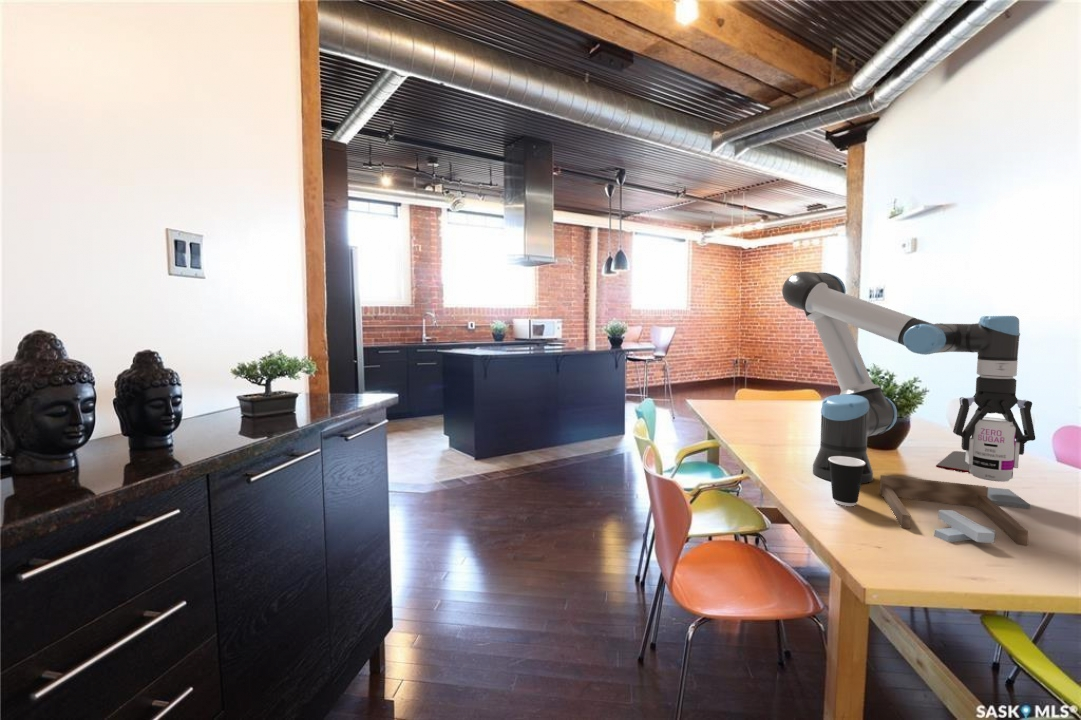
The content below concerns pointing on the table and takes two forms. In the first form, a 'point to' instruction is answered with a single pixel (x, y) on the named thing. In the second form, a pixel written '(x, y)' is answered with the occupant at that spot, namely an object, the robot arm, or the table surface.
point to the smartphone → (955, 462)
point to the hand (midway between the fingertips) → (991, 464)
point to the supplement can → (993, 449)
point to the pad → (1006, 498)
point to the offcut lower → (954, 534)
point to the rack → (947, 501)
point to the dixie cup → (846, 479)
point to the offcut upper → (966, 526)
